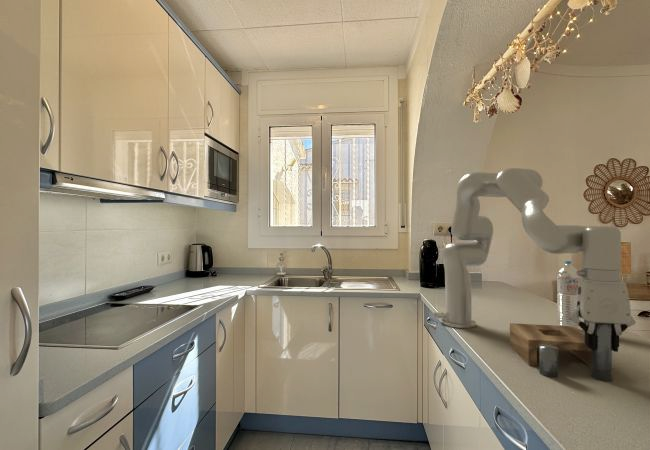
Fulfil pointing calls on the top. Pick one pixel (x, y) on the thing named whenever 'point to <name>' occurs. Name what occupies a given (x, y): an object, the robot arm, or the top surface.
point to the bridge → (548, 341)
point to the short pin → (548, 360)
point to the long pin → (602, 352)
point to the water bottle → (566, 294)
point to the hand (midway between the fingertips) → (601, 348)
